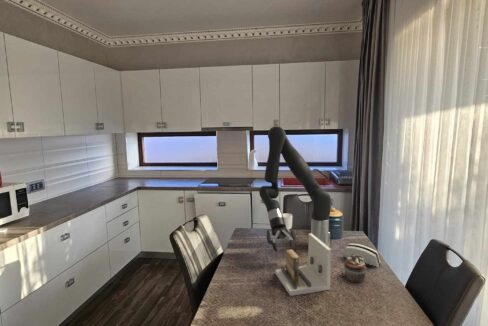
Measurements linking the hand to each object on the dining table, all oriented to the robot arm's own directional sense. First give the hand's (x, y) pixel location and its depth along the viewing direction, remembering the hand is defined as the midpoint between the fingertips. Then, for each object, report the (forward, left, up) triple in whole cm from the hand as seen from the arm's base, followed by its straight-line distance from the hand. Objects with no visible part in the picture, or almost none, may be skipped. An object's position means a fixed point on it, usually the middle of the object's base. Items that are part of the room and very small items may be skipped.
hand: (284, 250), depth 142 cm
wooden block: (+1, +10, -7) cm, 13 cm away
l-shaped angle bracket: (-3, +13, -9) cm, 16 cm away
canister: (-43, -30, -9) cm, 53 cm away
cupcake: (-28, +16, -9) cm, 34 cm away
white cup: (-19, -46, -9) cm, 50 cm away
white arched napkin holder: (-40, +4, -9) cm, 41 cm away
